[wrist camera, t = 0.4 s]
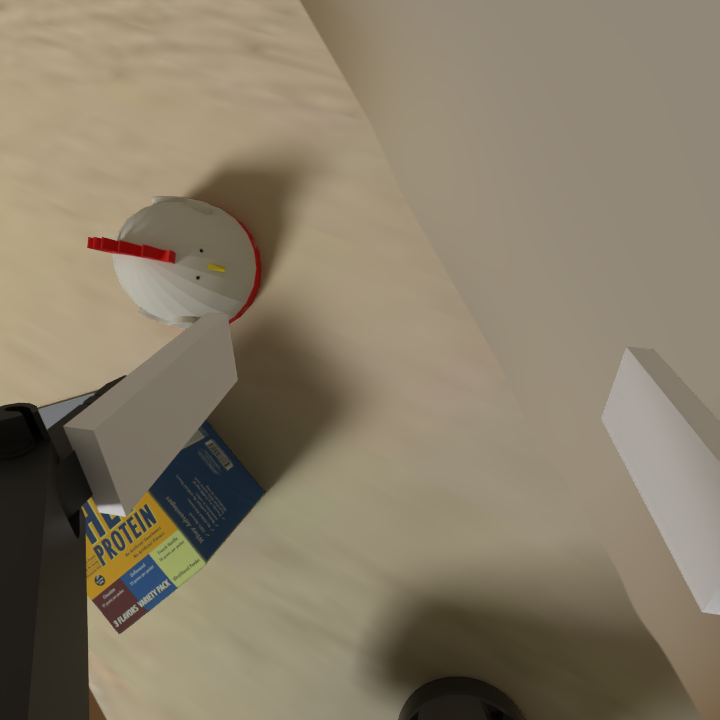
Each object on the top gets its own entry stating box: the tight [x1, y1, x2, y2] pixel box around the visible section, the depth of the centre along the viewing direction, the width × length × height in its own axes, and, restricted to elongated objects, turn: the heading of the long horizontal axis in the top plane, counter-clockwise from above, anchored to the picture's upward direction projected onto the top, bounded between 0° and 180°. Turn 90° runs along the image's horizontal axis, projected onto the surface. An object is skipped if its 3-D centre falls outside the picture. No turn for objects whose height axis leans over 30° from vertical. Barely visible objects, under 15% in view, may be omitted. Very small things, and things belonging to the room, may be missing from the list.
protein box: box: [81, 420, 265, 634], centre depth 43 cm, size 10×15×16 cm
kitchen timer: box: [87, 196, 261, 329], centre depth 41 cm, size 14×14×15 cm
